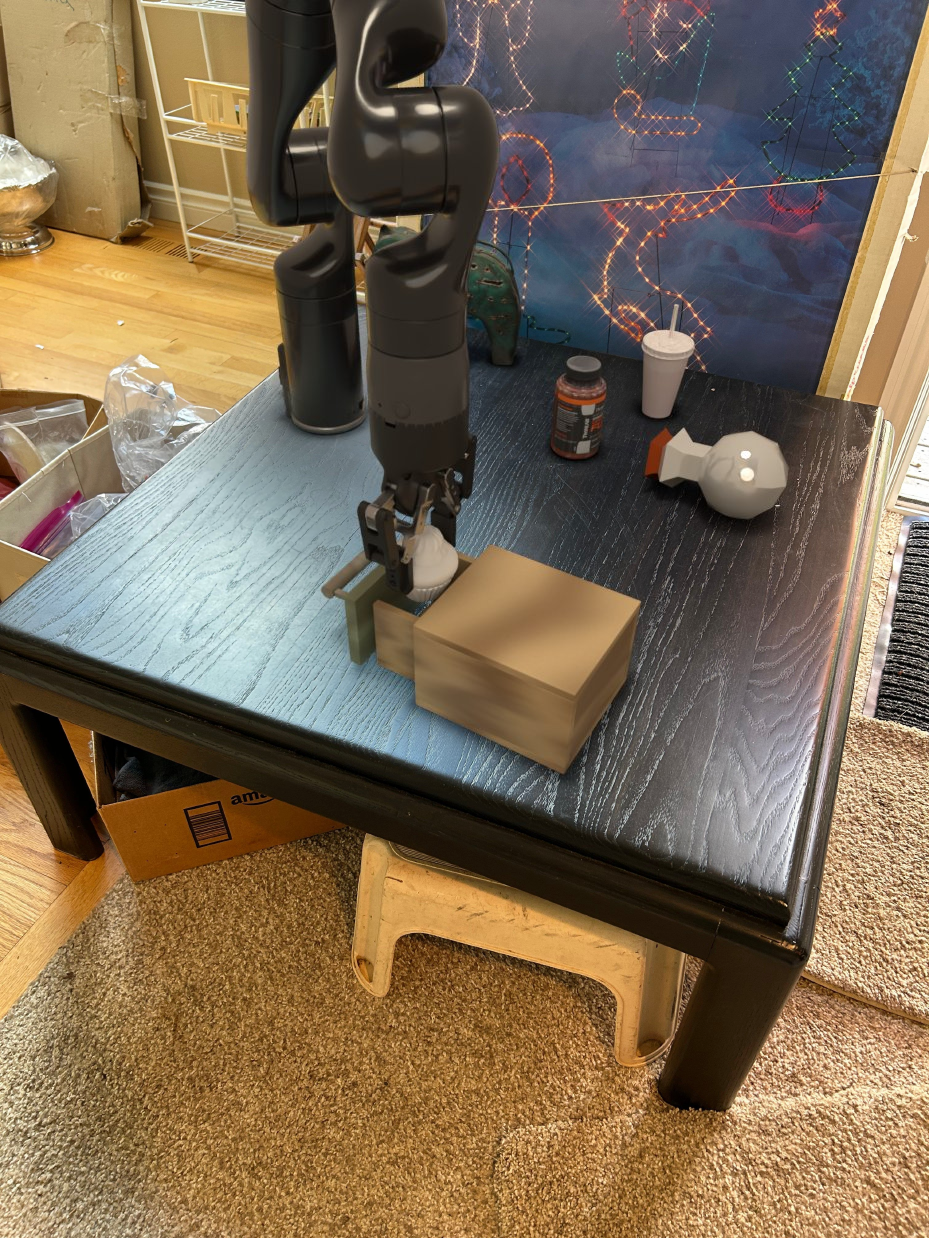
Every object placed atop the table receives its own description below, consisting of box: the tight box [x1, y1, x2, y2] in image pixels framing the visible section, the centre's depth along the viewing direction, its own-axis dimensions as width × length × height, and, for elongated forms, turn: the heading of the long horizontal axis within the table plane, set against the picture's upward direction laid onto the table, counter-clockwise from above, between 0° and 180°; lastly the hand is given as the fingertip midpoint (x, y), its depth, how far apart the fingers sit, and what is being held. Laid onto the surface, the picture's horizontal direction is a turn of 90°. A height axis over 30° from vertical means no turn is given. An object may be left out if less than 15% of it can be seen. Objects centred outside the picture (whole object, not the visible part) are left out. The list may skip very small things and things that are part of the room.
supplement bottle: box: [550, 355, 608, 460], centre depth 107 cm, size 6×6×11 cm
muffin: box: [397, 522, 458, 604], centre depth 77 cm, size 6×6×7 cm
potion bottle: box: [644, 427, 790, 520], centre depth 100 cm, size 9×10×15 cm
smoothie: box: [641, 303, 695, 419], centre depth 113 cm, size 6×6×14 cm
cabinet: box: [413, 543, 642, 775], centre depth 77 cm, size 15×13×10 cm
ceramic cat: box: [371, 215, 522, 366], centre depth 122 cm, size 20×6×20 cm, turn 80°
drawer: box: [320, 549, 477, 683], centre depth 81 cm, size 18×11×8 cm, turn 59°
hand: (422, 567), depth 78 cm, fingers closed on muffin, 6 cm apart
